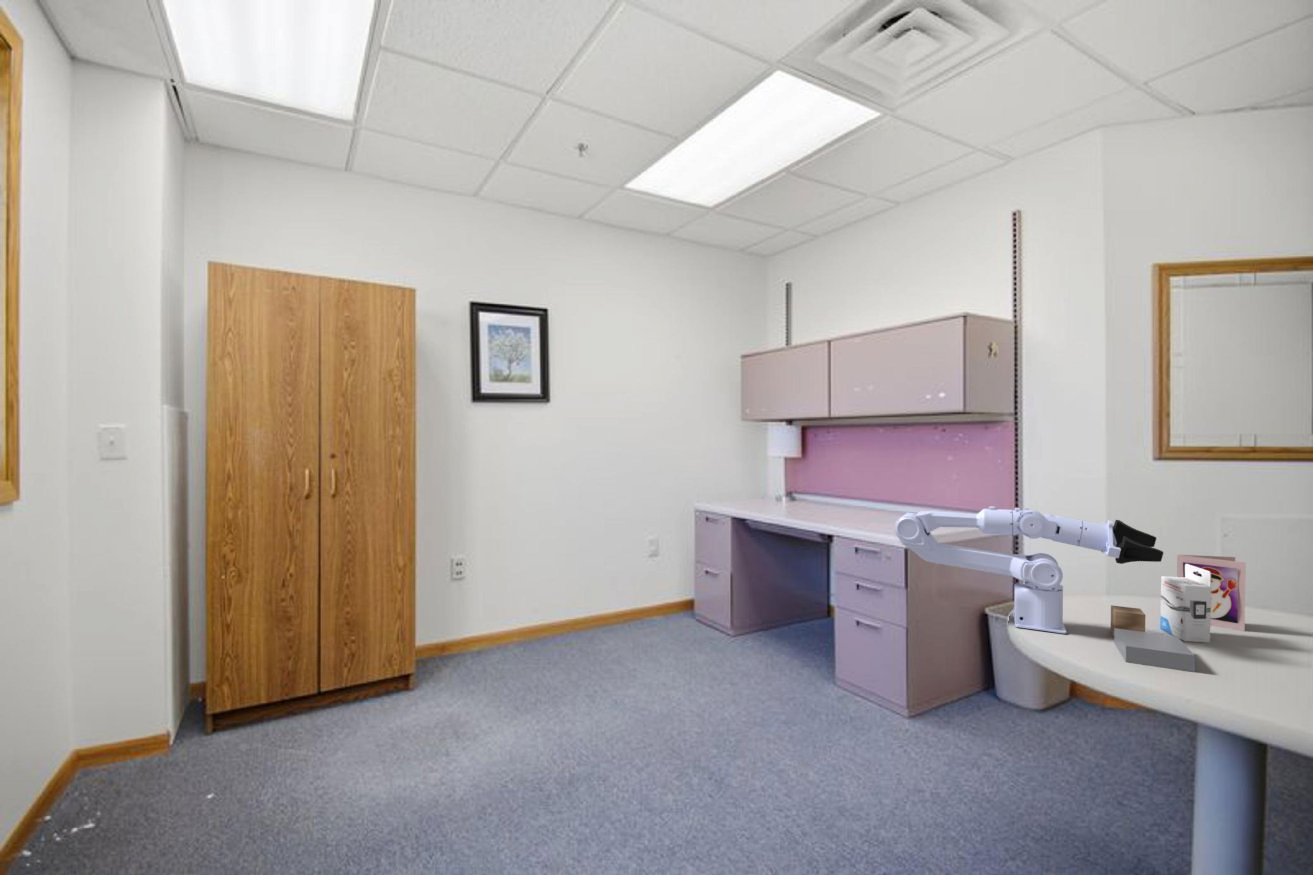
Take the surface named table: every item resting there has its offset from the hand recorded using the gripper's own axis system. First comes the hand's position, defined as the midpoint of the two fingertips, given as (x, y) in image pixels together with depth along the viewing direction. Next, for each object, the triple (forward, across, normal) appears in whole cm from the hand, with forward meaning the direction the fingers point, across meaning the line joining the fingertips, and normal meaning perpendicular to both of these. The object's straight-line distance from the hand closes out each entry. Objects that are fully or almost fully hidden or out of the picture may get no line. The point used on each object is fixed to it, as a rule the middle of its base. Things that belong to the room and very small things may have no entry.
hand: (1158, 549), depth 126 cm
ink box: (+9, +3, +20) cm, 22 cm away
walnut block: (-2, -5, +19) cm, 20 cm away
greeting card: (+17, +18, +22) cm, 33 cm away
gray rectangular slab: (0, -15, +16) cm, 22 cm away
